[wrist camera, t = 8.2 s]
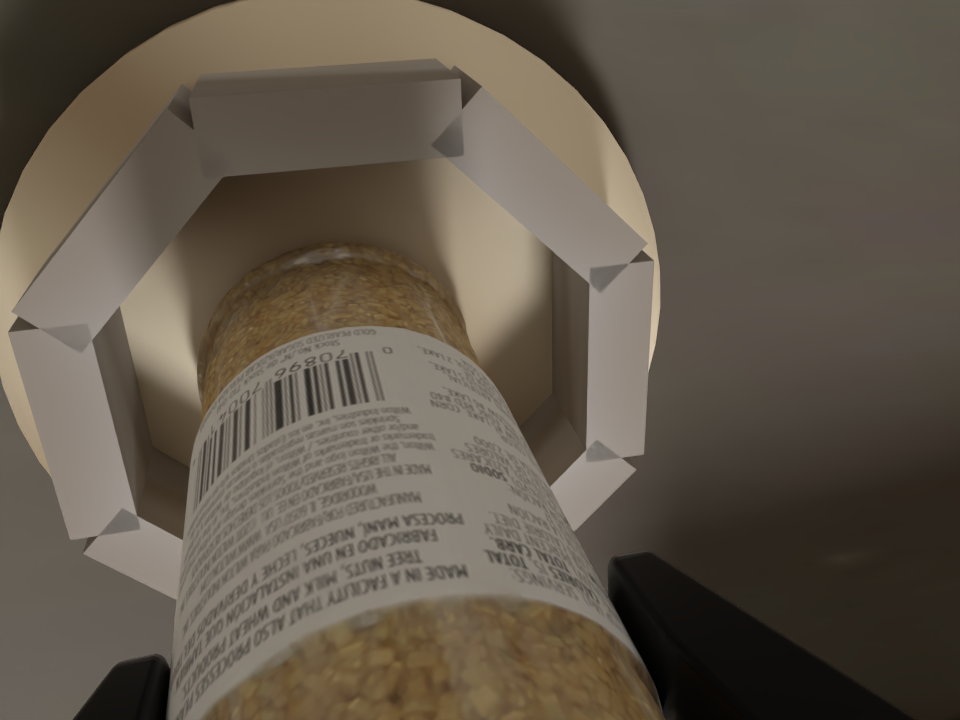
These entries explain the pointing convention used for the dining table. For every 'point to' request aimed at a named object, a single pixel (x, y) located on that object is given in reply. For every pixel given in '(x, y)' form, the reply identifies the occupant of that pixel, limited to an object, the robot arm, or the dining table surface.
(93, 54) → the dining table surface
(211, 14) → the collar socket
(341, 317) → the sprinkles bottle
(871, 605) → the dining table surface
